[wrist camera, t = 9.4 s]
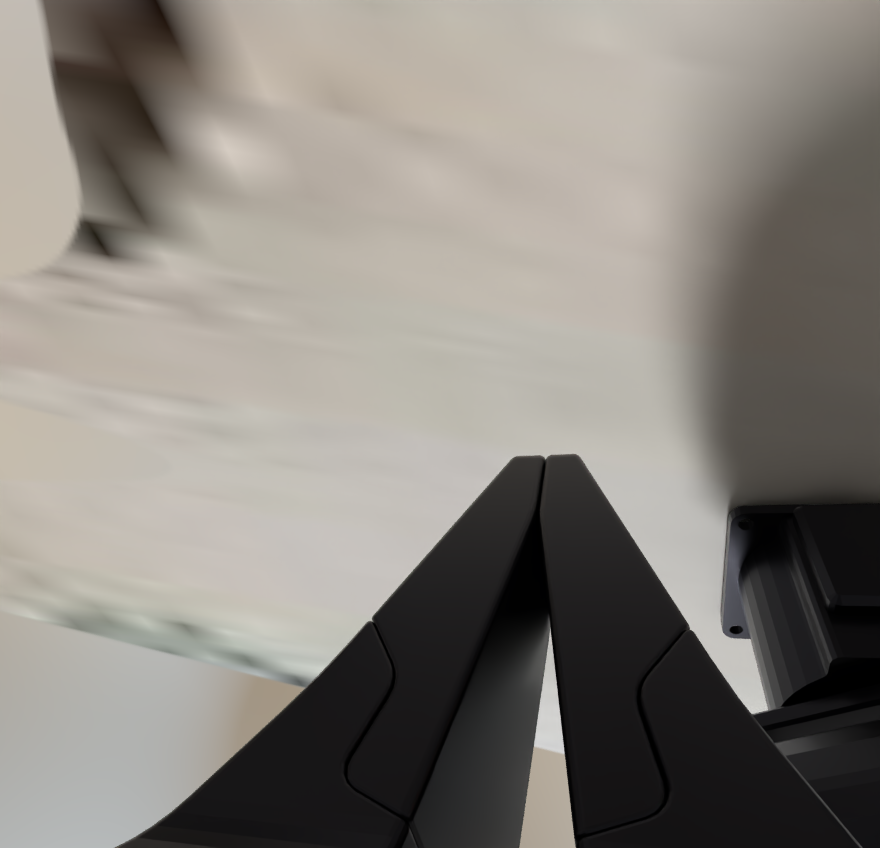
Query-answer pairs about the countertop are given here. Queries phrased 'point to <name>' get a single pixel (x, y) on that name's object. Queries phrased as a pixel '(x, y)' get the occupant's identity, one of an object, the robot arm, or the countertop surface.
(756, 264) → the countertop surface
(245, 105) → the countertop surface
